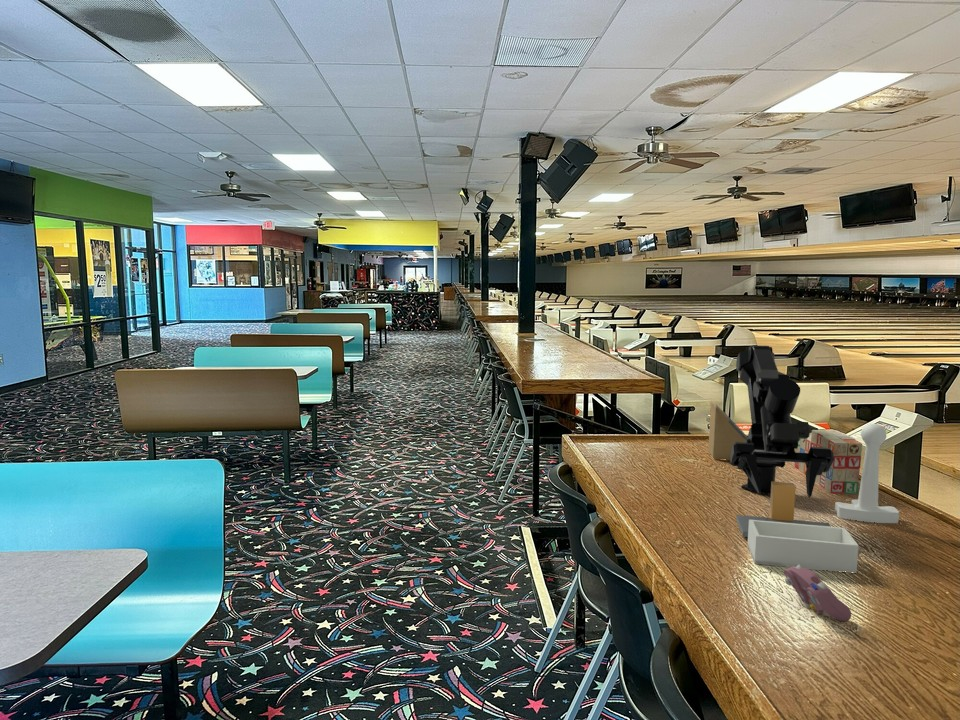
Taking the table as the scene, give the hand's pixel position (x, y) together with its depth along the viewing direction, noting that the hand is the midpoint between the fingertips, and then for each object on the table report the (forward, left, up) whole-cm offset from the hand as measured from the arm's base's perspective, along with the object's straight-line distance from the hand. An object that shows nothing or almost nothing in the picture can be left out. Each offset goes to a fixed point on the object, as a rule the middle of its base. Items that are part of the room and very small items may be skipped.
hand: (784, 494), depth 129 cm
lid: (+3, +2, -7) cm, 8 cm away
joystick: (-21, +6, -7) cm, 23 cm away
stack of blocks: (-39, -11, -7) cm, 41 cm away
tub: (+11, +9, -7) cm, 16 cm away
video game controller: (+26, +19, -7) cm, 33 cm away
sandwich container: (-40, -35, -7) cm, 53 cm away
